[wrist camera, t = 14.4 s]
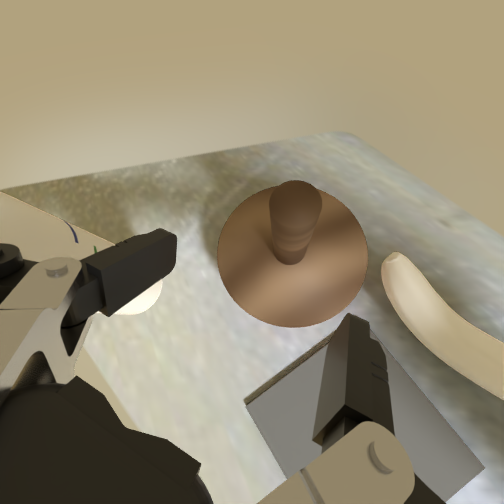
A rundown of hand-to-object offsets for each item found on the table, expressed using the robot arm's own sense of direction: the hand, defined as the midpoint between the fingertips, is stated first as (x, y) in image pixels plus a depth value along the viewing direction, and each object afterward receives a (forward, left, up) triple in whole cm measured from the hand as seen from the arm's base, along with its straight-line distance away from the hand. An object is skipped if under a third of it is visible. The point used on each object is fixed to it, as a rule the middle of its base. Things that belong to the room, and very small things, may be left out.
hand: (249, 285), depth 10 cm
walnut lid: (+3, -5, -12) cm, 13 cm away
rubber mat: (-14, 0, -17) cm, 22 cm away
